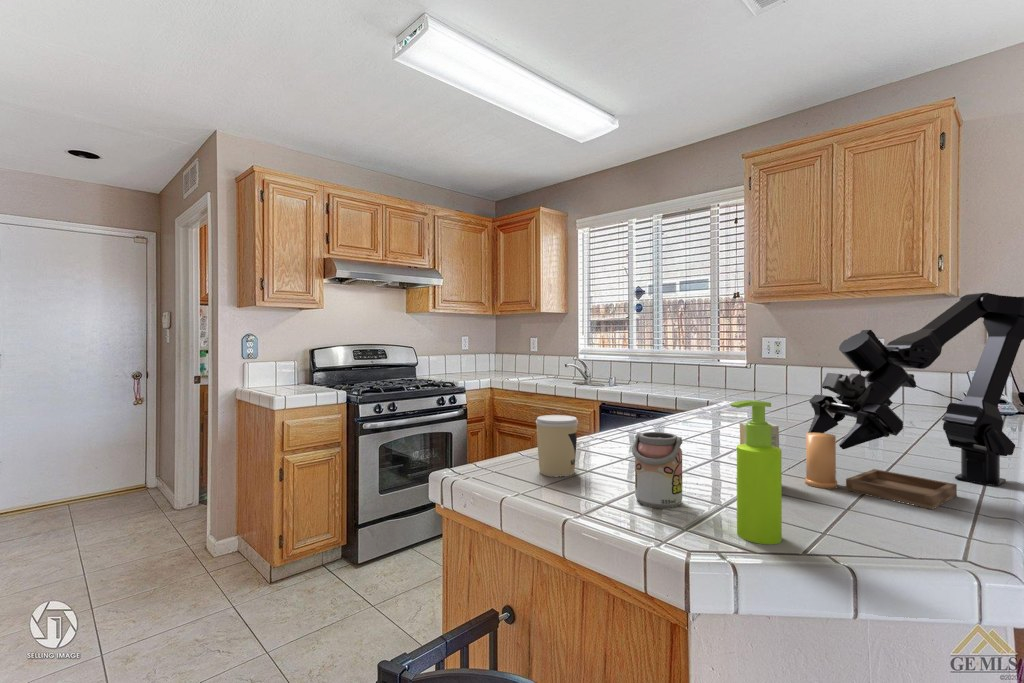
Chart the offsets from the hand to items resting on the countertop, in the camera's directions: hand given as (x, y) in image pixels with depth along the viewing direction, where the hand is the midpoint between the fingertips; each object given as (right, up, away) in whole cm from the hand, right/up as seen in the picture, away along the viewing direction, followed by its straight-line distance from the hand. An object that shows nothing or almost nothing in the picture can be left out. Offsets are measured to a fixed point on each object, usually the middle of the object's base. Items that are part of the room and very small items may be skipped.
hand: (824, 442), depth 97 cm
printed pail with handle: (-37, -9, -11) cm, 39 cm away
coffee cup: (-53, -9, +10) cm, 54 cm away
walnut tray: (+11, -8, -6) cm, 15 cm away
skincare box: (-13, -9, 0) cm, 16 cm away
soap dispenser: (-27, -9, -26) cm, 38 cm away
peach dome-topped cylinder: (-1, -8, 0) cm, 9 cm away
